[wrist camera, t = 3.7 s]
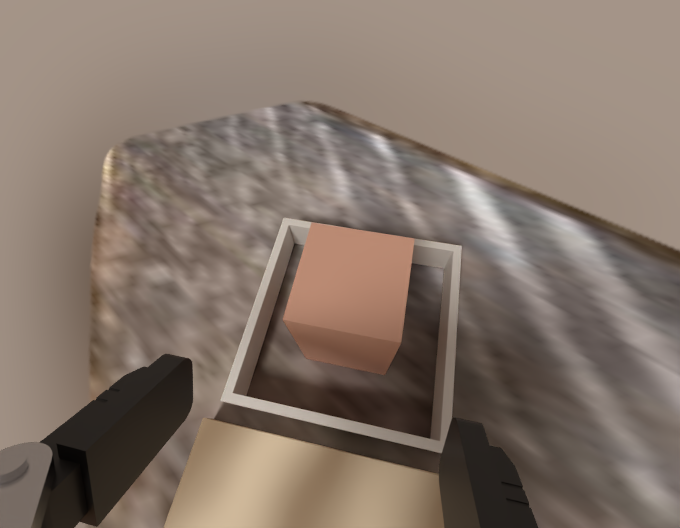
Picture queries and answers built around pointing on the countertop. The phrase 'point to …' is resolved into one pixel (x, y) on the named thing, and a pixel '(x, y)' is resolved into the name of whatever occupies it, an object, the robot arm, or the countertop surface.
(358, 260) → the terracotta block
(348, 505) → the maple board
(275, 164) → the countertop surface
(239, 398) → the square frame
